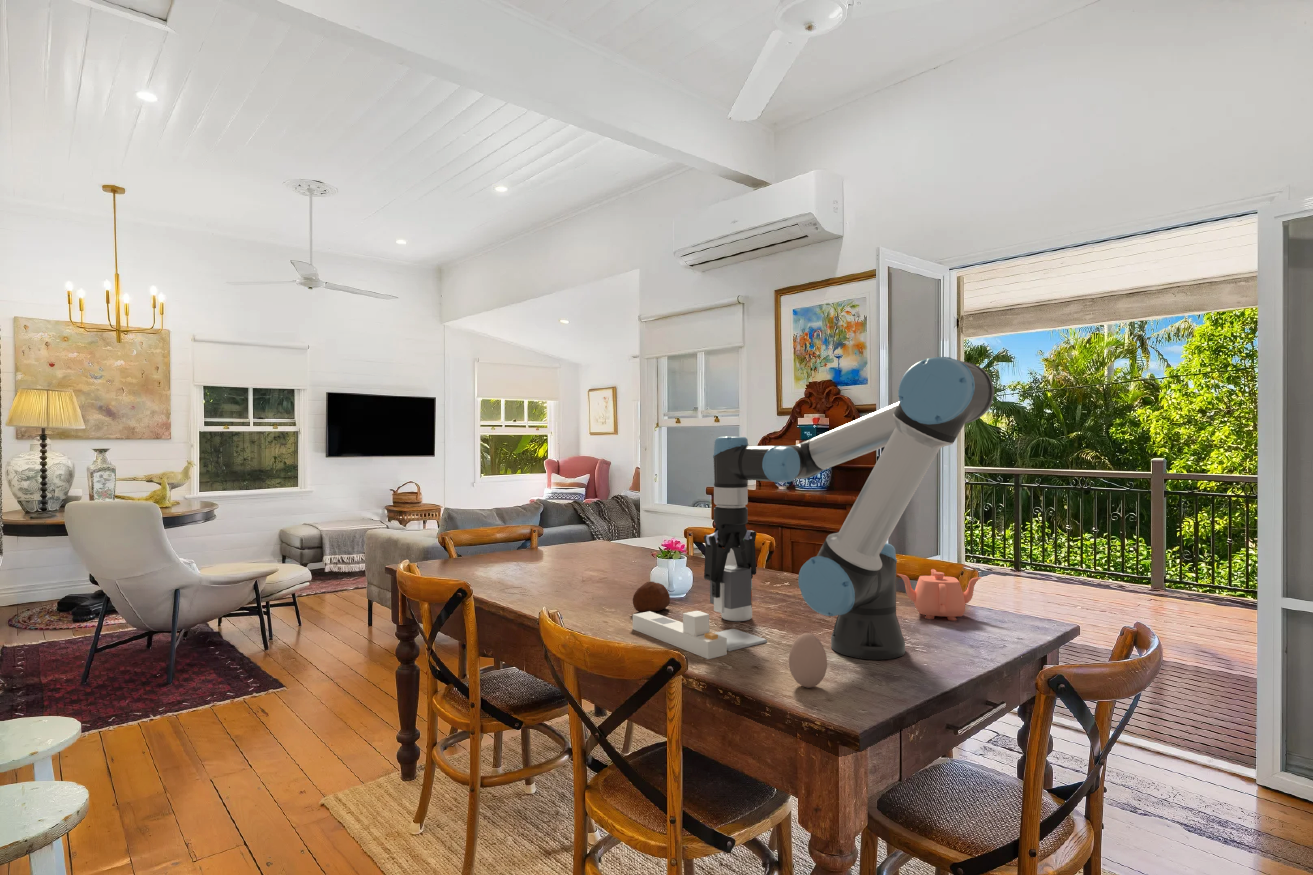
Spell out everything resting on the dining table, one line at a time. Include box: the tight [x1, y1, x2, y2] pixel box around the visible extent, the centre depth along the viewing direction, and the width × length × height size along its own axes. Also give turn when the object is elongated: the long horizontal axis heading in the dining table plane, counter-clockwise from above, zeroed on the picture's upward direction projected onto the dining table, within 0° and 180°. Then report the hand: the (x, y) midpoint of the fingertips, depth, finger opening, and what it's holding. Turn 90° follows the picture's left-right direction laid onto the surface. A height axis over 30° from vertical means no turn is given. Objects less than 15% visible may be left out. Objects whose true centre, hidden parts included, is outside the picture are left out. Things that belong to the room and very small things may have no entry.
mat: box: [714, 628, 768, 652], centre depth 158 cm, size 11×11×1 cm
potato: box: [632, 581, 671, 613], centre depth 185 cm, size 8×12×8 cm, turn 137°
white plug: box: [682, 610, 710, 636], centre depth 152 cm, size 4×4×4 cm
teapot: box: [897, 568, 983, 622], centre depth 178 cm, size 14×14×11 cm
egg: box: [788, 632, 828, 689], centre depth 129 cm, size 7×7×10 cm
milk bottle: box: [720, 539, 753, 622], centre depth 178 cm, size 8×8×20 cm
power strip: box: [632, 611, 728, 660], centre depth 158 cm, size 28×5×4 cm, turn 35°
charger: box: [709, 564, 751, 609], centre depth 158 cm, size 7×6×8 cm
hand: (730, 609), depth 158 cm, fingers closed on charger, 6 cm apart
